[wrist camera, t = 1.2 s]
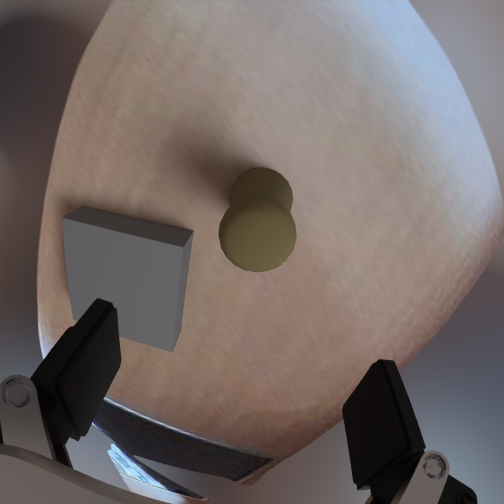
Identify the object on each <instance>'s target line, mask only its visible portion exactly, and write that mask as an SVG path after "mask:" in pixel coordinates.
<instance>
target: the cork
mask: <svg viewBox="0 0 504 504" xmlns="http://www.w3.org/2000/svg"><path fill="white" fill-rule="evenodd" d="M292 202H293V196H292V190H291V187H290V185H289V183H288V181H287V180H286V179H285V178H284V177H283V176H282V175H281V174H279V173H277V172H276V171H274V170H271V169H266V168H257V169H252V170H249V171H247V172H245V173H243V174H242V175H241V176H240V177H239V178H238V179H237V180H236V182H235V184H234V185H233V187H232V191H231V197H230V207H229V208H228V209H227V211H226V213H225V214H224V216H223V218H222V220H221V222H220V227H219V239H220V244H221V248H222V250H223V252H224V254H225V256H226V257H227V258H228V259H229V260H230V261H231V262H232V263H233V264H234V265H236V266H238V267H240V268H242V269H244V270H247V271H252V272H263V271H269V270H271V269H274V268H277V267H278V266H280V265H281V264H282V263H283V262H285V261H286V260H287V258H288V257H289V255H290V254H291V252H292V251H293V249H294V245H295V241H296V226H295V222H294V220H293V218H292V216H291V214H290V210H291V206H292Z"/></svg>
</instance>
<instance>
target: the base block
mask: <svg viewBox="0 0 504 504" xmlns="http://www.w3.org/2000/svg"><path fill="white" fill-rule="evenodd" d="M62 222H63V241H64V254H65V264H66V273H67V281H68V289H69V296H70V302H71V308H72V314H73V319H74V320H77V321H78V320H79V319H80V318H81V316H82V315H83V314H84V313H85V312H86V310H87V309H88V308H89V307H90V305H91V304H92V303H93V302H94V301H95V300H96V299H97V298H100V299H103V300H106V301H109V302H112V303H113V306H114V308H117V313H118V329H119V336H121V337H124V338H127V339H130V340H133V341H136V342H140V343H143V344H146V345H149V346H153V347H156V348H160V349H163V350H167V351H170V352H173V350H174V347H175V345H176V342H177V340H178V337H179V334H180V332H181V324H182V315H183V306H184V298H185V290H186V282H187V274H188V267H189V259H190V252H191V246H192V239H193V232H194V231H190V230H186V229H181V228H177V227H172V226H168V225H164V224H159V223H155V222H150V221H146V220H142V219H137V218H133V217H128V216H124V215H119V214H115V213H110V212H106V211H101V210H97V209H93V208H88V207H83V206H81V207H80V208H78V209H76V210H75V211H73V212H71V213H70V214H68V215H66V216H65V217H63V218H62Z"/></svg>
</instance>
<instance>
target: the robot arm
mask: <svg viewBox="0 0 504 504" xmlns="http://www.w3.org/2000/svg"><path fill="white" fill-rule="evenodd" d="M120 365H121V351H120V341H119V329H118V313H117V308H114V306H113V303H112V302H109V301H106V300H103V299H100V298H97V299H96V300H95V301H94V302H93V303H92V304H91V305H90V307H89V308H88V309H87V310H86V312H85V313H84V314H83V315H82V316H81V318H80V319H79V320H78V321H77V323H76V324H75V325H74V326H71V327H69V328H68V329H67V330H66V331H65V332H64V334H63V335H62V336H61V338H60V339H59V340H58V341H57V343H56V344H55V345H54V347H53V348H52V349H51V351H50V352H49V353H48V355H47V356H46V357H45V359H44V360H43V361H42V363H41V364H40V365H39V367H38V368H37V369H36V371H35V372H34V374H33V375H32V377H31V378H30V379H29V378H27V377H26V376H22V375H12V376H9V377H7V378H5V379H4V380H3V381H2V382H1V384H0V504H170V503H166V502H163V501H159V500H155V499H152V498H148V497H145V496H142V495H139V494H136V493H133V492H129V491H126V490H124V489H121V488H118V487H116V486H113V485H110V484H107V483H105V482H102V481H100V480H97V479H95V478H92V477H90V476H88V475H85V474H83V473H81V472H79V471H76V470H74V469H73V467H72V464H71V461H70V458H69V455H68V452H67V449H66V446H65V444H66V443H67V441H68V439H69V437H70V438H72V439H75V440H77V441H79V439H80V437H81V436H85V435H86V434H87V432H88V430H89V428H90V426H91V424H92V422H93V420H94V417H95V415H96V413H97V411H98V409H99V407H100V405H101V403H102V401H103V399H104V397H105V395H106V393H107V391H108V389H109V387H110V385H111V383H112V381H113V379H114V377H115V375H116V373H117V372H118V370H119V368H120ZM342 413H343V419H344V424H345V430H346V437H347V442H348V449H349V456H350V462H351V469H352V476H353V482H354V483H355V484H357V490H366V489H370V490H371V495H370V497H369V498H368V500H367V501H366V503H365V504H477V496H476V494H475V493H474V491H473V490H472V489H471V488H469V487H468V486H466V485H464V484H463V483H461V482H460V481H458V480H456V479H455V478H453V477H452V476H450V475H449V463H448V461H447V459H446V457H445V456H444V455H443V454H441V453H440V452H438V451H433V450H431V451H427V452H426V453H425V452H424V449H425V448H426V447H425V444H424V440H423V437H422V435H421V431H420V428H419V425H418V422H417V419H416V417H415V414H414V411H413V408H412V405H411V403H410V400H409V397H408V395H407V392H406V390H405V387H404V384H403V381H402V379H401V376H400V374H399V371H398V369H397V366H396V364H395V362H394V361H393V360H384V359H379V360H378V361H377V362H376V363H373V364H372V365H371V367H370V368H369V370H368V371H367V373H366V374H365V376H364V377H363V379H362V380H361V381H360V383H359V384H358V386H357V387H356V389H355V390H354V391H353V393H352V394H351V395H350V397H349V398H348V399H347V401H346V402H345V404H344V405H343V409H342Z"/></svg>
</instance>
